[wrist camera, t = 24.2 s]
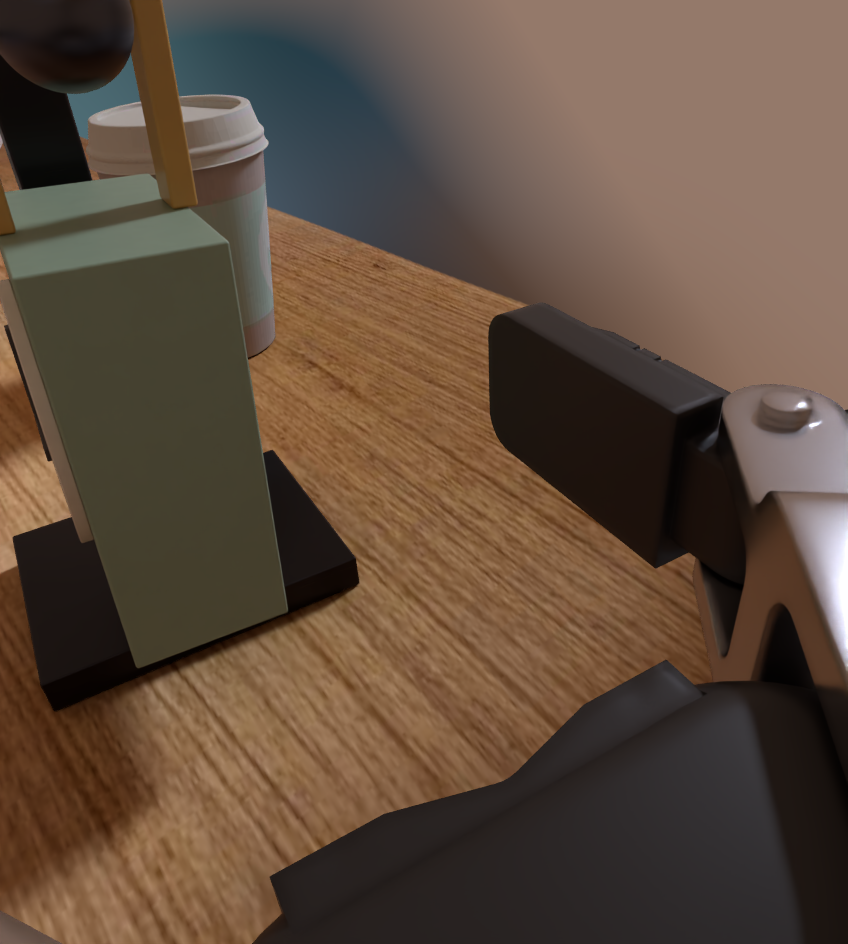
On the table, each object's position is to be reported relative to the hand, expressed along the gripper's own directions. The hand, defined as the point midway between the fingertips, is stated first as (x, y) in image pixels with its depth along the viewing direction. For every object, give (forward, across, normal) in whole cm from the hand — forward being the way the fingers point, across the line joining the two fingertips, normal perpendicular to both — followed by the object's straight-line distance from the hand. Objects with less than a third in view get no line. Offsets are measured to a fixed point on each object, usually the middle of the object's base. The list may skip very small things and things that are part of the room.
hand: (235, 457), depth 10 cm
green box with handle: (+10, 0, +9) cm, 14 cm away
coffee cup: (+32, -7, +13) cm, 35 cm away
